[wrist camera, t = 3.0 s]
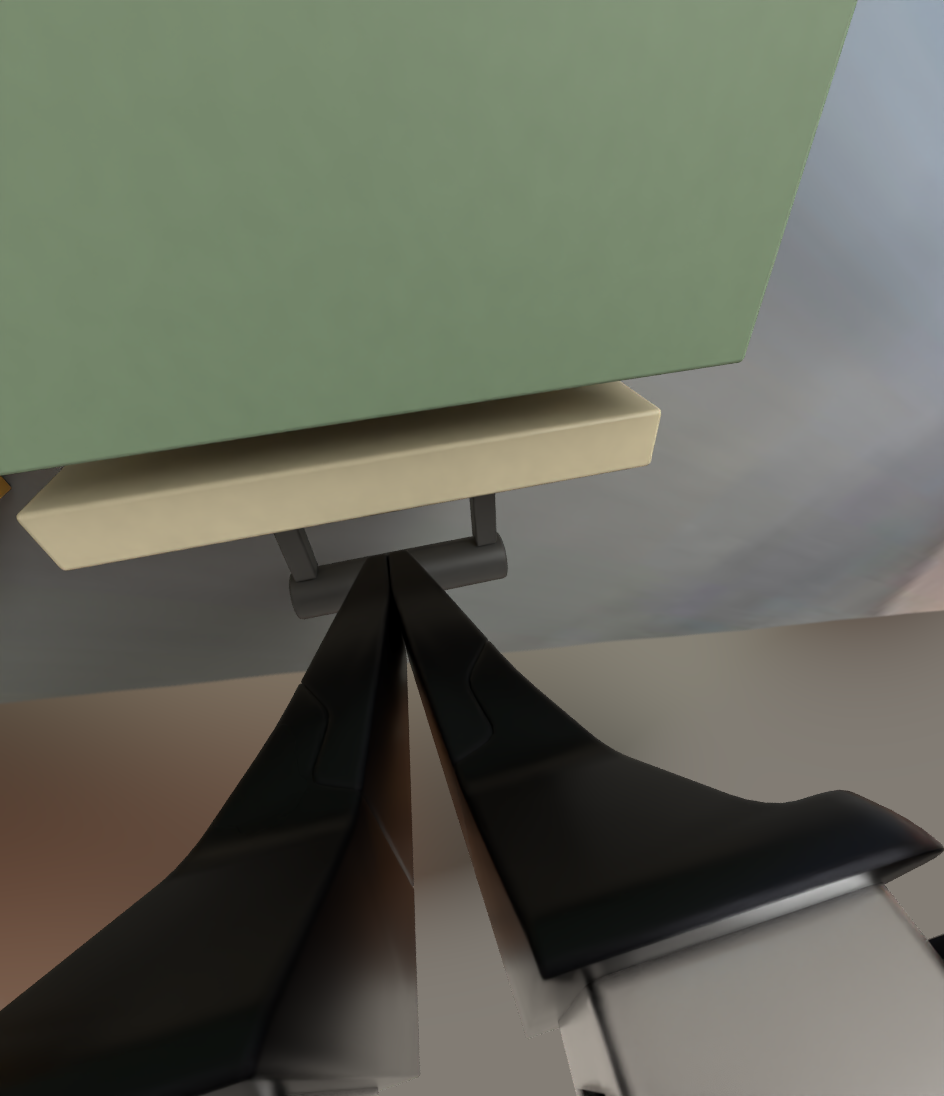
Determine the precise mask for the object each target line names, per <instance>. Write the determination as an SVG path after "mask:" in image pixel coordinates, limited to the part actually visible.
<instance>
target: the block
mask: <svg viewBox="0 0 944 1096" xmlns="http://www.w3.org/2000/svg"><path fill="white" fill-rule="evenodd" d="M9 490H11V487H10V486H9V484H8V483H7V482H6V481H5V480H4V479H3V477H2V476H0V499H1V498H2V497H3V496H4V495H5V494H6V493H7V492H8V491H9Z"/></svg>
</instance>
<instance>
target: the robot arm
mask: <svg viewBox="0 0 944 1096" xmlns="http://www.w3.org/2000/svg"><path fill="white" fill-rule="evenodd" d="M405 646H406V648H405ZM406 650H407V654H408V658H409V661H410V665H411V668H412V671H413V674H414V677H415V681H416V684H417V687H418V690H419V694H420V697H421V700H422V703H423V706H424V710H425V713H426V716H427V719H428V723H429V726H430V729H431V732H432V736H433V739H434V742H435V745H436V748H437V751H438V755H439V758H440V761H441V765H442V768H443V771H444V774H445V777H446V781H447V784H448V787H449V790H450V794H451V797H452V800H453V803H454V807H455V810H456V813H457V816H458V819H459V823H460V826H461V829H462V832H463V836H464V839H465V842H466V845H467V848H468V852H469V855H470V858H471V861H472V865H473V867H474V871H475V874H476V878H477V881H478V884H479V887H480V891H481V894H482V897H483V900H484V903H485V907H486V910H487V913H488V916H489V920H490V923H491V926H492V929H493V933H494V936H495V939H496V942H497V945H498V949H499V952H500V955H501V958H502V962H503V965H504V968H505V971H506V974H507V978H508V981H509V984H510V987H511V990H512V994H513V997H514V1000H515V1003H516V1006H517V1010H518V1013H519V1016H520V1019H521V1023H522V1026H523V1030H524V1033H525V1037H526V1038H527V1039H528V1038H532V1037H534V1036H537V1035H540V1034H543V1033H546V1032H548V1031H552V1030H554V1029H557V1028H559V1029H560V1032H561V1036H562V1040H563V1044H564V1048H565V1052H566V1055H567V1059H568V1063H569V1067H570V1071H571V1074H572V1078H573V1082H574V1086H575V1090H576V1094H577V1096H944V934H941V935H938V936H936V937H933V938H930V939H926V937H925V936H924V935H923V933H922V932H921V931H920V930H919V928H917V926H916V924H915V923H914V922H913V921H912V919H911V918H910V917H909V916H908V914H907V913H906V912H905V910H904V909H903V908H902V906H901V905H900V904H899V903H898V901H897V900H896V899H895V898H894V896H893V895H892V894H891V892H890V891H889V890H888V889H887V887H886V886H885V885H884V884H886V883H888V882H890V881H892V880H894V879H896V878H898V877H900V876H902V875H904V874H905V873H907V872H909V871H911V870H913V869H915V868H917V867H919V866H921V865H923V864H925V863H927V862H928V861H930V860H932V859H934V858H935V857H937V856H938V855H940V854H941V853H942V852H943V851H944V847H943V846H942V844H941V843H940V842H938V841H937V840H936V839H935V838H934V837H932V836H931V835H930V834H928V833H927V832H926V831H924V830H923V829H922V828H920V827H918V826H917V825H915V824H914V823H912V822H911V821H910V820H908V819H906V818H904V817H903V816H901V815H899V814H897V813H895V812H894V811H892V810H890V809H888V808H886V807H883V806H881V805H879V804H877V803H875V802H873V801H870V800H868V799H866V798H864V797H862V796H860V795H858V794H855V793H853V792H850V791H844V790H836V791H829V792H825V793H821V794H817V795H814V796H810V797H807V798H804V799H801V800H797V801H792V802H786V803H764V802H758V801H752V800H746V799H743V798H740V797H736V796H733V795H729V794H727V793H725V792H721V791H719V790H717V789H714V788H711V787H709V786H706V785H703V784H700V783H698V782H695V781H692V780H690V779H687V778H684V777H681V776H679V775H676V774H674V773H671V772H668V771H666V770H663V769H660V768H658V767H655V766H652V765H649V764H647V763H644V762H641V761H639V760H635V759H633V758H631V757H628V756H626V755H623V754H621V753H619V752H617V751H615V750H614V749H612V748H610V747H609V746H607V745H605V744H604V743H603V742H601V741H600V740H598V739H597V738H595V737H594V736H593V735H592V734H591V733H589V732H588V731H587V730H586V729H585V728H583V727H582V726H581V725H580V724H579V723H577V722H576V721H575V720H574V719H573V718H571V717H570V716H569V715H568V714H567V713H566V712H565V711H563V710H562V709H561V708H560V707H559V706H557V705H556V704H555V703H554V702H553V701H552V700H550V699H549V698H548V697H547V696H546V695H544V694H543V693H542V692H541V691H540V690H539V689H537V688H536V687H535V686H534V685H533V684H532V683H531V682H529V681H528V680H527V679H526V678H525V677H524V676H523V675H522V674H521V673H520V672H518V671H517V670H516V669H515V668H514V667H513V665H512V664H511V663H510V662H509V661H508V660H507V659H506V658H505V657H504V656H503V655H502V654H501V653H500V652H499V651H498V650H497V649H496V647H495V646H494V645H493V644H492V643H491V642H490V641H488V639H487V638H486V637H485V635H484V634H483V633H482V632H481V631H480V630H479V629H478V628H477V627H476V625H475V624H474V623H473V622H472V621H471V620H470V619H469V618H468V617H467V615H466V614H465V613H464V612H463V611H462V610H461V609H460V608H459V607H458V605H457V604H456V603H455V602H454V601H453V600H452V599H451V598H450V597H449V595H448V594H447V593H446V592H445V591H444V590H443V589H442V588H441V586H440V585H439V584H438V583H437V582H436V581H435V580H434V579H433V578H432V576H431V575H430V574H429V573H428V572H427V571H426V570H425V569H424V568H423V566H422V565H421V564H420V563H419V562H418V561H417V560H416V559H415V558H414V556H413V555H412V554H411V553H410V552H409V551H408V550H406V549H404V550H399V551H394V552H390V553H389V554H388V556H387V554H385V553H384V554H378V555H373V556H369V557H367V558H366V560H365V562H364V564H363V566H362V568H361V570H360V571H359V573H358V575H357V577H356V579H355V581H354V583H353V585H352V587H351V588H350V590H349V592H348V594H347V596H346V598H345V600H344V602H343V603H342V605H341V607H340V609H339V611H338V613H337V615H336V617H335V619H334V620H333V622H332V624H331V626H330V628H329V630H328V632H327V634H326V635H325V637H324V639H323V641H322V643H321V645H320V647H319V649H318V650H317V652H316V654H315V656H314V658H313V660H312V662H311V664H310V666H309V667H308V669H307V671H306V673H305V675H304V677H303V679H302V681H301V682H302V684H299V686H298V688H297V690H296V691H295V693H294V695H293V697H292V699H291V701H290V703H289V704H288V706H287V708H286V710H285V712H284V713H283V715H282V717H281V718H280V720H279V722H278V724H277V726H276V727H275V729H274V731H273V732H272V733H271V735H270V737H269V738H268V740H267V741H266V743H265V744H264V746H263V748H262V749H261V751H260V752H259V754H258V755H257V757H256V758H255V760H254V761H253V763H252V764H251V766H250V767H249V769H248V770H247V772H246V773H245V775H244V776H243V778H242V779H241V780H240V782H239V783H238V785H237V787H236V788H235V790H234V791H233V792H232V794H231V795H230V797H229V798H228V800H227V801H226V803H225V804H224V806H223V807H222V809H221V810H220V812H219V813H218V815H217V816H216V818H215V819H214V820H213V822H212V823H211V825H210V826H209V828H208V829H207V831H206V832H205V834H204V835H203V836H202V838H201V839H200V841H199V842H198V843H197V844H196V846H195V847H194V848H193V849H192V851H191V852H190V853H189V854H188V856H187V857H186V858H185V859H184V860H183V861H182V862H181V863H180V864H179V865H178V867H177V868H176V869H175V870H174V871H173V872H172V873H171V874H169V875H168V876H167V877H166V879H164V880H163V881H162V882H161V883H160V884H158V885H157V886H156V887H155V888H153V889H152V890H151V891H150V892H148V893H147V894H146V895H145V896H144V897H142V898H141V899H140V900H139V901H137V902H136V903H135V904H133V905H132V906H131V907H130V908H129V909H127V910H126V911H125V912H123V913H122V914H121V915H120V916H118V917H117V918H116V919H115V920H113V921H112V922H111V923H110V924H108V925H107V926H106V927H105V928H103V929H102V930H101V931H100V932H98V933H97V934H96V935H95V936H93V937H92V938H91V939H90V940H88V941H87V942H86V943H85V944H83V945H82V946H81V947H80V948H79V949H77V950H76V951H75V952H73V953H72V954H71V955H70V956H68V957H67V958H66V959H65V960H63V961H62V962H61V963H60V964H58V965H57V966H56V967H55V968H53V969H52V970H51V971H50V972H48V973H47V974H46V975H45V976H43V977H42V978H41V979H40V980H38V981H37V982H36V983H35V984H33V985H32V986H31V987H30V988H28V989H27V990H26V991H25V992H23V993H22V994H21V995H20V996H18V997H17V998H16V999H15V1000H13V1001H12V1002H11V1003H10V1004H8V1005H7V1006H6V1007H5V1008H3V1009H2V1010H1V1011H0V1096H378V1091H381V1090H384V1089H387V1088H389V1087H392V1086H395V1085H398V1084H401V1083H404V1082H407V1081H410V1080H412V1079H415V1078H418V1077H419V1076H420V1065H419V1064H420V1062H419V1029H418V998H417V966H416V935H415V905H414V888H413V886H414V876H413V875H414V874H413V843H412V813H411V781H410V750H409V719H408V688H407V659H406Z"/></svg>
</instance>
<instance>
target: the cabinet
mask: <svg viewBox="0 0 944 1096" xmlns="http://www.w3.org/2000/svg"><path fill="white" fill-rule="evenodd" d="M856 3H857V0H0V476H2V475H9V474H15V473H22V472H28V471H35V470H41V469H48V468H54V467H61V466H67V465H74V464H80V463H87V462H93V461H100V460H106V459H113V458H119V457H126V456H132V455H139V454H145V453H152V452H158V451H165V450H172V449H178V448H185V447H191V446H198V445H204V444H211V443H217V442H224V441H230V440H237V439H243V438H250V437H256V436H263V435H269V434H276V433H282V432H289V431H295V430H302V429H308V428H315V427H321V426H328V425H335V424H341V423H348V422H354V421H361V420H367V419H374V418H380V417H387V416H393V415H400V414H406V413H413V412H419V411H426V410H432V409H439V408H445V407H452V406H458V405H465V404H471V403H478V402H485V401H491V400H498V399H504V398H511V397H517V396H524V395H530V394H537V393H543V392H550V391H556V390H563V389H569V388H576V387H582V386H589V385H595V384H602V383H608V382H615V381H621V380H628V379H634V378H641V377H648V376H654V375H661V374H667V373H674V372H680V371H687V370H693V369H700V368H706V367H713V366H719V365H726V364H732V363H739V362H741V361H742V360H743V359H744V357H745V353H746V350H747V347H748V344H749V341H750V338H751V334H752V331H753V328H754V325H755V322H756V319H757V316H758V312H759V309H760V306H761V303H762V300H763V297H764V293H765V290H766V287H767V284H768V281H769V278H770V275H771V271H772V268H773V265H774V262H775V259H776V256H777V252H778V249H779V246H780V243H781V240H782V237H783V234H784V230H785V227H786V224H787V221H788V218H789V215H790V211H791V208H792V205H793V202H794V199H795V196H796V193H797V189H798V186H799V183H800V180H801V177H802V174H803V170H804V167H805V164H806V161H807V158H808V155H809V152H810V148H811V145H812V142H813V139H814V136H815V133H816V129H817V126H818V123H819V120H820V117H821V114H822V111H823V107H824V104H825V101H826V98H827V95H828V92H829V88H830V85H831V82H832V79H833V76H834V73H835V70H836V66H837V63H838V60H839V57H840V54H841V51H842V47H843V44H844V41H845V38H846V35H847V32H848V29H849V25H850V22H851V19H852V16H853V13H854V10H855V6H856Z"/></svg>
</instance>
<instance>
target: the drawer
mask: <svg viewBox="0 0 944 1096" xmlns="http://www.w3.org/2000/svg"><path fill="white" fill-rule="evenodd" d="M660 416H661V411H660V409H659V408H657V407H656V406H655V405H653V404H652V403H650V402H649V401H648V400H646V399H645V398H643V397H642V396H640V395H639V394H638V393H636V392H635V391H633V390H632V389H630V388H629V387H628V386H626V385H625V384H623V383H622V382H621V381H615V382H608V383H602V384H595V385H589V386H582V387H576V388H569V389H563V390H556V391H550V392H543V393H537V394H530V395H524V396H517V397H511V398H504V399H498V400H491V401H485V402H478V403H471V404H465V405H458V406H452V407H445V408H439V409H432V410H426V411H419V412H413V413H406V414H400V415H393V416H387V417H380V418H374V419H367V420H361V421H354V422H348V423H341V424H335V425H328V426H321V427H315V428H308V429H302V430H295V431H289V432H282V433H276V434H269V435H263V436H256V437H250V438H243V439H237V440H230V441H224V442H217V443H211V444H204V445H198V446H191V447H185V448H178V449H172V450H165V451H158V452H152V453H145V454H139V455H132V456H126V457H119V458H113V459H106V460H100V461H93V462H87V463H80V464H74V465H67V466H64V467H63V468H62V469H61V471H60V472H59V473H58V474H57V475H56V476H55V477H54V478H53V479H52V480H51V481H50V482H49V483H48V484H47V485H46V486H45V487H44V488H43V489H42V490H41V491H40V492H39V493H38V494H37V495H36V496H35V497H34V498H33V499H32V500H31V501H30V502H29V503H28V504H27V505H26V506H25V507H24V508H23V509H22V510H21V511H20V512H19V513H18V514H17V517H16V518H17V520H18V522H19V523H20V524H21V525H22V526H23V527H24V529H25V530H26V531H27V532H28V533H29V534H30V535H31V536H32V537H33V539H34V540H35V541H36V542H37V543H38V544H39V545H40V546H41V547H42V548H43V550H44V551H45V552H46V553H47V554H48V555H49V556H50V557H51V558H52V560H53V561H54V562H55V563H56V564H57V565H58V566H59V567H60V568H61V569H62V570H67V571H68V570H74V569H79V568H85V567H90V566H96V565H101V564H107V563H112V562H118V561H123V560H129V559H134V558H140V557H146V556H151V555H157V554H162V553H168V552H173V551H179V550H184V549H190V548H195V547H201V546H206V545H212V544H217V543H223V542H228V541H234V540H239V539H245V538H250V537H256V536H261V535H267V534H272V533H274V536H275V538H276V540H277V542H278V545H279V547H280V549H281V551H282V554H283V556H284V558H285V560H286V562H287V565H288V567H289V569H290V571H291V575H290V580H289V590H290V597H291V601H292V605H293V608H294V610H295V612H296V614H297V616H298V617H299V618H300V619H308V618H313V617H318V616H323V615H328V614H332V613H337V612H338V611H339V609H340V607H341V605H342V603H343V602H344V600H345V598H346V596H347V594H348V592H349V590H350V588H351V587H352V585H353V583H354V581H355V579H356V577H357V575H358V573H359V571H360V570H361V568H362V566H363V564H364V562H365V560H366V558H367V557H369V556H367V557H362V558H357V559H352V560H347V561H342V562H336V563H331V564H326V565H321V566H318V563H317V561H316V558H315V556H314V553H313V551H312V548H311V545H310V543H309V540H308V538H307V535H306V533H305V530H304V528H305V527H311V526H316V525H322V524H327V523H333V522H338V521H344V520H349V519H355V518H361V517H366V516H372V515H377V514H383V513H388V512H394V511H399V510H405V509H410V508H416V507H421V506H427V505H432V504H438V503H443V502H449V501H454V500H460V499H465V498H470V510H471V522H472V534H473V536H471V537H466V538H461V539H456V540H450V541H445V542H440V543H435V544H430V545H424V546H419V547H414V548H409V549H406V550H408V551H409V552H410V553H411V554H412V555H413V556H414V558H415V559H416V560H417V561H418V562H419V563H420V564H421V565H422V566H423V568H424V569H425V570H426V571H427V572H428V573H429V574H430V575H431V576H432V578H433V579H434V580H435V581H436V582H437V583H438V584H439V585H440V586H441V588H442V589H443V590H448V589H453V588H458V587H463V586H467V585H472V584H477V583H482V582H487V581H491V580H496V579H501V578H504V577H506V576H507V570H508V565H507V557H506V552H505V548H504V544H503V541H502V539H501V537H500V535H499V534H498V533H497V532H496V509H495V493H498V492H504V491H509V490H515V489H520V488H526V487H531V486H537V485H542V484H548V483H553V482H559V481H564V480H570V479H575V478H581V477H587V476H592V475H598V474H603V473H609V472H614V471H620V470H625V469H631V468H636V467H642V466H647V465H649V464H650V462H651V458H652V453H653V448H654V444H655V439H656V435H657V430H658V426H659V421H660ZM393 552H394V551H393ZM389 553H390V552H388V553H385V554H387V556H388V554H389ZM383 554H384V553H383Z"/></svg>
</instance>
